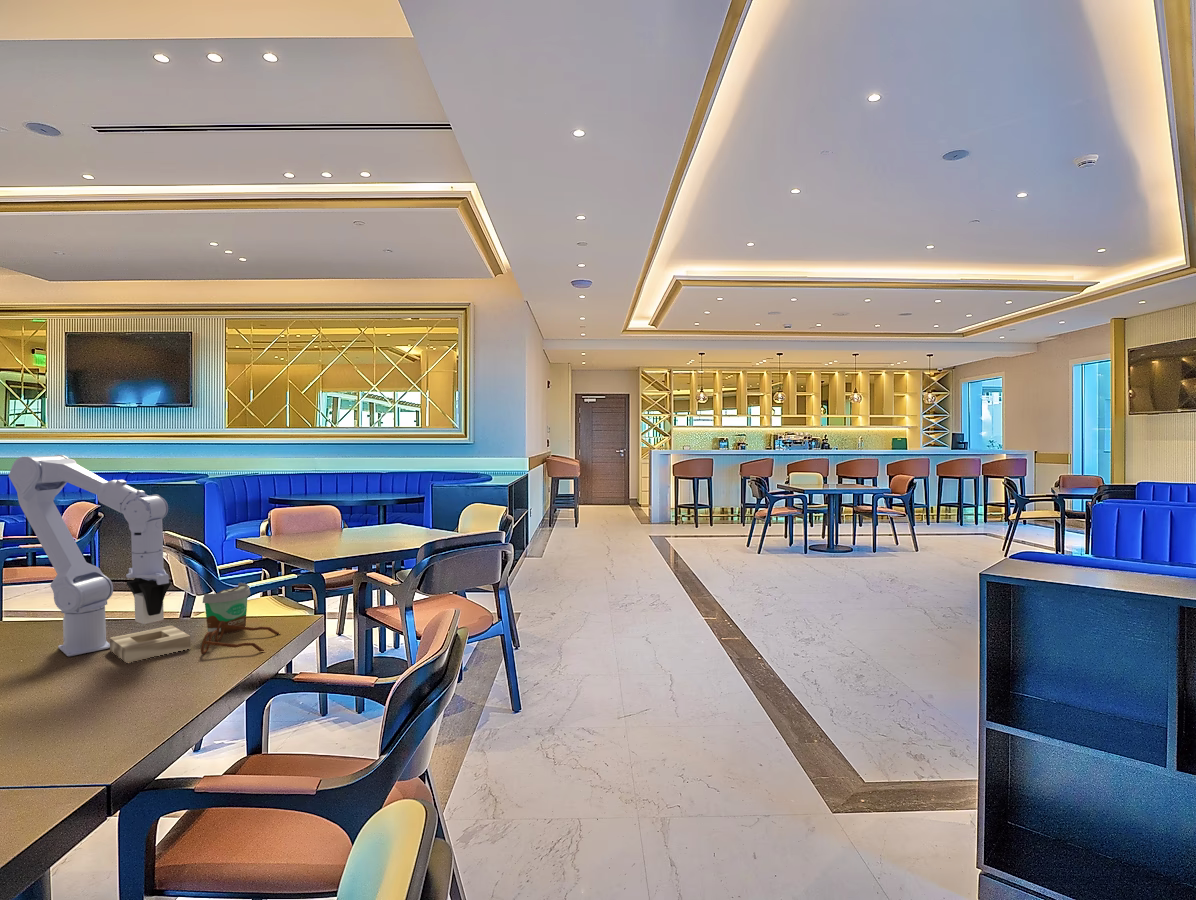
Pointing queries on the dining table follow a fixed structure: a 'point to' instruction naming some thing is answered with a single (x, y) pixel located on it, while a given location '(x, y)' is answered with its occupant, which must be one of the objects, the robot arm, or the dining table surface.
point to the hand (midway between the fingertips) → (149, 612)
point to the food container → (227, 608)
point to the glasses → (227, 643)
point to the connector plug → (145, 611)
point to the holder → (149, 643)
